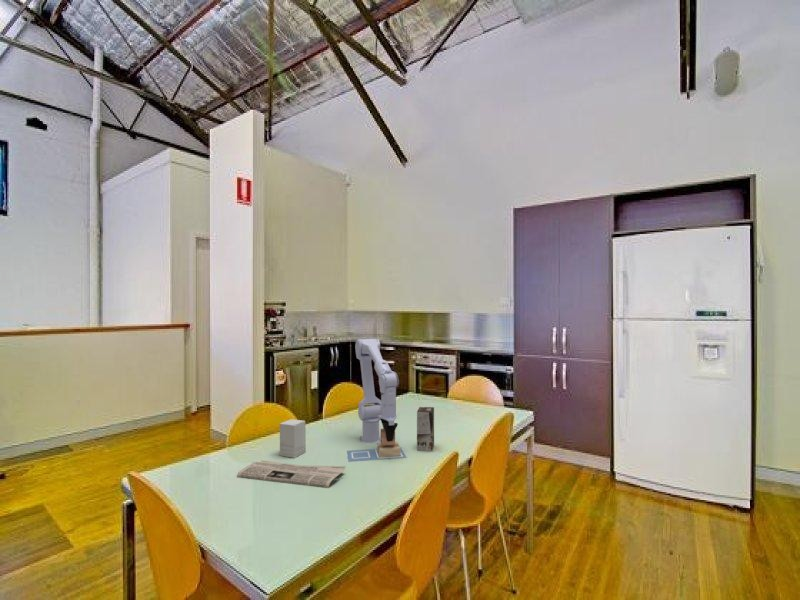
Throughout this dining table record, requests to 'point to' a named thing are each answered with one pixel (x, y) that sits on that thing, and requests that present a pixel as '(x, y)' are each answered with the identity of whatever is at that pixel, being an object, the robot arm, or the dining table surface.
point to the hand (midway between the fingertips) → (388, 438)
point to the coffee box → (425, 429)
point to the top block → (384, 440)
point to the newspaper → (291, 473)
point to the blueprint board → (368, 455)
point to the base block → (389, 450)
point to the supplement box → (292, 438)
